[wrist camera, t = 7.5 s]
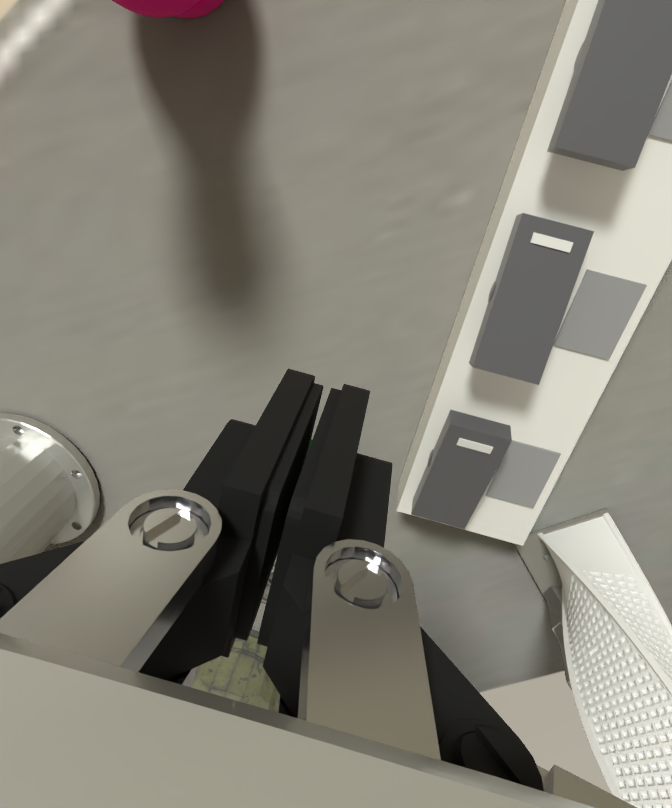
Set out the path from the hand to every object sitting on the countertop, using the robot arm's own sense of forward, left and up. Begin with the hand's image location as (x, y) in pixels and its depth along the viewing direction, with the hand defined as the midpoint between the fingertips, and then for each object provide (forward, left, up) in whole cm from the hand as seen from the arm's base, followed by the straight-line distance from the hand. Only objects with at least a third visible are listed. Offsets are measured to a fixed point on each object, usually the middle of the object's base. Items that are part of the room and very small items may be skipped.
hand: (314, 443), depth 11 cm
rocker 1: (-12, -8, -21) cm, 25 cm away
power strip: (-1, -10, -25) cm, 27 cm away
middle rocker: (-1, -8, -21) cm, 22 cm away
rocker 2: (+10, -8, -21) cm, 24 cm away
